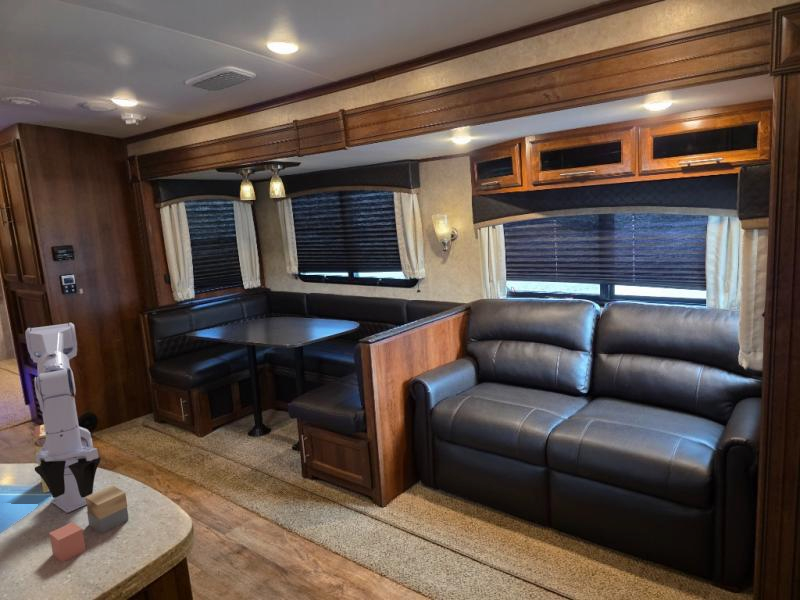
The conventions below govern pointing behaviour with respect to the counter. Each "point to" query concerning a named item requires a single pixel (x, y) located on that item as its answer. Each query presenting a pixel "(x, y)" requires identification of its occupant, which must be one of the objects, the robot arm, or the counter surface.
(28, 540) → the counter surface
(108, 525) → the tower base
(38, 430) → the candy box
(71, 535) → the red block
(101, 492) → the tower middle
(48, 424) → the robot arm
